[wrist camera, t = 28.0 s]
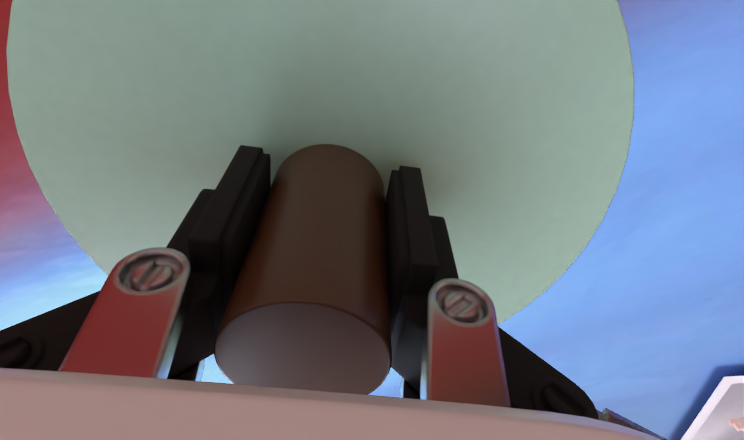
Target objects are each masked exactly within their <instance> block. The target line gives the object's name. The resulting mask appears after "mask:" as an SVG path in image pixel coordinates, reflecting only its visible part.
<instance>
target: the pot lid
mask: <svg viewBox="0 0 744 440" xmlns="http://www.w3.org/2000/svg"><path fill="white" fill-rule="evenodd" d="M6 50H7V69H8V88H9V95H10V100H11V105H12V110H13V115H14V120H15V124H16V129H17V132H18V135H19V138H20V141H21V144H22V147H23V149H24V152H25V155H26V158H27V161H28V164H29V166H30V168H31V170H32V172H33V174H34V176H35V178H36V180H37V182H38V184H39V186H40V188H41V190H42V192H43V194H44V196H45V198H46V200H47V201H48V203H49V204H50V206H51V207H52V209H53V210H54V212H55V213H56V215H57V216H58V218H59V219H60V221H61V222H62V224H63V226H64V227H65V228H66V230H67V231H68V232H69V233H70V234H71V236H72V237H73V238H74V239H75V241H76V242H77V243H78V244H79V245H80V247H81V248H82V249H83V250H84V251H85V253H86V254H87V255H88V256H89V257H90V258H91V259H92V260H93V261H94V262H95V263H96V264H97V265H98V266H99V267H100V268H101V269H102V270H103V271H104V272H105V273H107V274H108V275H109V274H110V272H111V270H112V269H113V268H114V266H115V265H116V264H117V263H118V262H119V261H120V260H122V259H123V258H124V257H126V256H127V255H129V254H132V253H134V252H136V251H139V250H143V249H147V248H155V247H165V248H166V247H167V245H168V243H169V242H170V240H171V239H172V237H173V235H174V234H175V232H176V230H177V229H178V227H179V226H180V224H181V222H182V221H183V219H184V217H185V216H186V214H187V213H188V211H189V209H190V208H191V206H192V204H193V203H194V201H195V200H196V198H197V196H198V195H199V193H200V192H201V191H202V189H213V190H215V189H216V187H217V185H218V184H219V182H220V180H221V178H222V177H223V175H224V173H225V171H226V170H227V168H228V166H229V164H230V162H231V161H232V159H233V157H234V155H235V154H236V152H237V150H238V148H239V147H240V145H245V146H253V147H260V148H263V153H265V154H270V160H271V188H270V191H269V193H268V196H267V199H266V201H265V204H264V207H263V210H262V212H261V215H260V218H259V220H258V223H257V226H256V229H255V231H254V234H253V237H252V239H251V242H250V245H249V247H248V250H247V253H246V256H245V258H244V261H243V264H242V266H241V269H240V272H239V275H238V277H237V280H236V283H235V285H234V288H233V291H232V293H231V296H230V299H229V302H228V304H227V307H226V310H225V312H224V315H223V318H222V321H221V323H220V326H219V329H218V331H217V334H216V337H215V340H214V356H215V359H216V363H217V365H218V367H219V368H220V370H221V371H222V373H223V374H224V375H225V377H226V378H227V379H228V380H229V381H230V382H232V383H233V384H238V385H251V386H263V387H276V388H288V389H301V390H313V391H325V392H338V393H350V394H362V395H368V394H370V393H371V392H373V391H374V390H375V389H376V388H378V387H379V386H380V385H381V384H382V382H383V381H384V380H385V378H386V377H387V375H388V373H389V371H390V368H391V364H392V343H391V321H390V301H389V279H388V257H387V235H386V213H385V200H386V195H387V190H388V185H389V180H390V175H391V171H392V170H399V167H400V165H401V166H408V167H416V168H420V169H421V174H422V179H423V184H424V190H425V195H426V200H427V206H428V211H429V215H432V216H440V217H443V218H444V219H445V222H446V226H447V230H448V235H449V239H450V243H451V247H452V252H453V256H454V260H455V264H456V268H457V273H458V277H459V279H462V280H466V281H469V282H471V283H473V284H475V285H477V286H479V287H480V288H481V289H482V290H484V291H485V292H486V293H487V294H488V296H489V297H490V298H491V300H492V301H493V304H494V307H495V311H496V317H497V324H500V323H502V322H503V321H505V320H506V319H508V318H509V317H511V316H513V315H514V314H516V313H517V312H519V311H520V310H522V309H523V308H525V307H526V306H527V305H528V304H530V303H531V302H532V301H534V300H535V299H536V298H537V297H539V296H540V295H541V294H542V293H544V292H545V291H546V290H547V289H548V288H549V287H550V286H551V285H552V284H553V283H554V282H555V281H556V280H557V279H558V278H559V277H560V276H561V275H562V274H563V273H564V272H565V271H566V270H567V269H568V268H569V267H570V266H571V264H572V263H573V262H574V261H575V259H576V258H577V257H578V256H579V254H580V253H581V252H582V251H583V249H584V248H585V247H586V246H587V244H588V243H589V241H590V239H591V238H592V236H593V235H594V233H595V231H596V230H597V228H598V227H599V225H600V223H601V222H602V220H603V219H604V216H605V214H606V212H607V210H608V208H609V206H610V203H611V201H612V199H613V197H614V195H615V193H616V190H617V188H618V185H619V182H620V179H621V175H622V172H623V169H624V166H625V162H626V159H627V156H628V151H629V145H630V139H631V132H632V126H633V120H634V71H633V65H632V58H631V51H630V44H629V37H628V32H627V29H626V26H625V22H624V19H623V16H622V13H621V10H620V6H619V3H618V0H13V1H12V5H11V13H10V22H9V31H8V40H7V49H6Z"/></svg>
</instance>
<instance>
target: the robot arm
mask: <svg viewBox="0 0 744 440" xmlns="http://www.w3.org/2000/svg"><path fill="white" fill-rule="evenodd" d="M270 188H271V160H270V154H265V153H263V148H260V147H253V146H245V145H240V147H239V148H238V150H237V152H236V154H235V155H234V157H233V159H232V161H231V162H230V164H229V166H228V168H227V170H226V171H225V173H224V175H223V177H222V178H221V180H220V182H219V184H218V185H217V187H216V189H215V190H213V189H202V191H201V192H200V193H199V195H198V196H197V198H196V200H195V201H194V203H193V204H192V206H191V208H190V209H189V211H188V213H187V214H186V216H185V217H184V219H183V221H182V222H181V224H180V226H179V227H178V229H177V230H176V232H175V234H174V235H173V237H172V239H171V240H170V242H169V243H168V245H167V247H166V248H165V247H155V248H147V249H143V250H139V251H136V252H134V253H132V254H129V255H127V256H126V257H124V258H123V259H122V260H120V261H119V262H118V263H117V264H116V265H115V266H114V268H113V269H112V270H111V272H110V274H109V276H108V278H107V280H106V282H105V284H104V285H103V287H102V289H101V291H98V292H96V293H93V294H91V295H88V296H86V297H83V298H81V299H78V300H76V301H73V302H71V303H68V304H66V305H63V306H61V307H58V308H56V309H53V310H51V311H48V312H46V313H43V314H41V315H38V316H36V317H33V318H31V319H28V320H26V321H23V322H21V323H19V324H16V325H14V326H11V327H9V328H6V329H4V330H1V331H0V440H667V439H665V438H663V437H661V436H659V435H657V434H655V433H653V432H651V431H649V430H647V429H646V428H644V427H642V426H640V425H638V424H636V423H634V422H632V421H630V420H628V419H626V418H624V417H622V416H620V415H618V414H616V413H615V412H613V411H611V410H609V409H607V408H605V410H604V411H603V412H600V411H598V410H596V409H595V406H594V404H593V402H592V401H591V400H590V398H589V397H588V396H587V394H586V393H585V392H584V391H583V390H582V389H581V388H579V387H578V386H577V385H576V384H575V383H574V382H572V381H571V380H570V379H568V378H567V377H566V376H564V375H563V374H561V373H560V372H559V371H557V370H556V369H555V368H553V367H552V366H551V365H549V364H548V363H547V362H545V361H544V360H543V359H541V358H540V357H538V356H537V355H536V354H534V353H533V352H532V351H530V350H529V349H528V348H526V347H525V346H524V345H522V344H521V343H520V342H518V341H517V340H516V339H514V338H513V337H511V336H510V335H509V334H507V333H506V332H505V331H503V330H502V329H501V328H499V327H498V324H497V317H496V311H495V307H494V304H493V301H492V300H491V298H490V297H489V296H488V294H487V293H486V292H485V291H484V290H482V289H481V288H480V287H479V286H477V285H475V284H473V283H471V282H469V281H466V280H462V279H459V277H458V273H457V268H456V264H455V260H454V256H453V252H452V247H451V243H450V239H449V235H448V230H447V226H446V222H445V219H444V218H443V217H440V216H432V215H429V211H428V206H427V200H426V195H425V190H424V184H423V179H422V174H421V169H420V168H416V167H408V166H401V165H400V167H399V170H392V171H391V175H390V180H389V185H388V190H387V195H386V200H385V213H386V235H387V257H388V279H389V301H390V321H391V343H392V364H391V367H392V368H393V369H394V370H395V371H396V372H397V373H399V374H400V375H401V376H402V379H401V383H400V397H399V398H397V397H386V396H374V395H362V394H350V393H338V392H325V391H313V390H301V389H288V388H276V387H263V386H251V385H238V384H226V383H213V382H201V378H202V374H203V369H204V361H205V358H207V357H209V356H210V355H212V354H214V340H215V337H216V334H217V331H218V329H219V326H220V323H221V321H222V318H223V315H224V312H225V310H226V307H227V304H228V302H229V299H230V296H231V293H232V291H233V288H234V285H235V283H236V280H237V277H238V275H239V272H240V269H241V266H242V264H243V261H244V258H245V256H246V253H247V250H248V247H249V245H250V242H251V239H252V237H253V234H254V231H255V229H256V226H257V223H258V220H259V218H260V215H261V212H262V210H263V207H264V204H265V201H266V199H267V196H268V193H269V191H270Z"/></svg>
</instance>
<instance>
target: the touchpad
mask: <svg viewBox="0 0 744 440" xmlns="http://www.w3.org/2000/svg"><path fill="white" fill-rule="evenodd" d="M681 440H744V376H726V377H724V378H723V379H722V381H721V382H720V384H719V385H718V386H717V388H716V389H715V391H714V392H713V394H712V395H711V397H710V398H709V400H708V401H707V402H706V404H705V405H704V407H703V408H702V410H701V411H700V413H699V414H698V415H697V417H696V418H695V420H694V421H693V423H692V424H691V426H690V427H689V429H688V430H687V431H686V433H685V434H684V436H683V437H682V439H681Z"/></svg>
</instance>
